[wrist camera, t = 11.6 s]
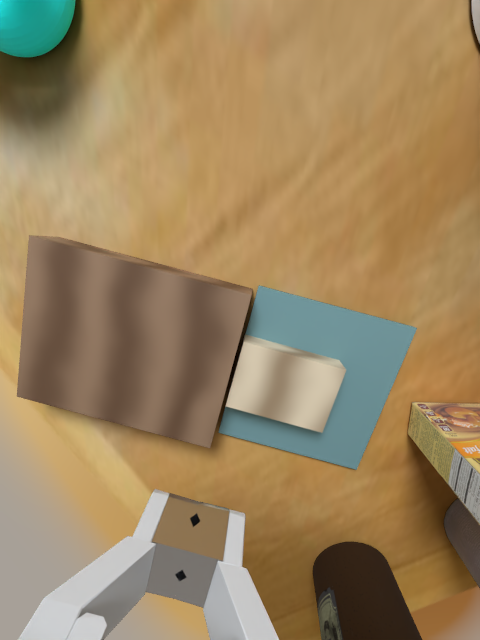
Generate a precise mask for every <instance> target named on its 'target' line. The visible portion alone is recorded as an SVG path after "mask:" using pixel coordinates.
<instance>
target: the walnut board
mask: <svg viewBox="0 0 480 640" xmlns="http://www.w3.org/2000/svg"><path fill="white" fill-rule="evenodd" d="M252 290H253V289H251V288H247V287H244V286H240V285H236V284H232V283H229V282H225V281H221V280H217V279H214V278H210V277H206V276H202V275H199V274H195V273H191V272H188V271H184V270H180V269H176V268H173V267H169V266H165V265H161V264H158V263H154V262H150V261H146V260H143V259H139V258H135V257H132V256H128V255H124V254H120V253H117V252H113V251H109V250H105V249H102V248H98V247H94V246H91V245H87V244H83V243H79V242H76V241H72V240H68V239H64V238H61V237H48V236H30V235H29V244H28V257H27V270H26V283H25V296H24V310H23V323H22V336H21V349H20V362H19V375H18V388H17V397H21V398H24V399H28V400H32V401H36V402H39V403H43V404H47V405H50V406H54V407H58V408H62V409H65V410H69V411H73V412H77V413H80V414H84V415H88V416H91V417H95V418H99V419H103V420H106V421H110V422H114V423H118V424H121V425H125V426H129V427H132V428H136V429H140V430H144V431H147V432H151V433H155V434H158V435H162V436H166V437H170V438H173V439H177V440H181V441H185V442H188V443H192V444H196V445H199V446H203V447H207V448H210V447H211V443H212V439H213V436H214V432H215V428H216V424H217V421H218V417H219V413H220V410H221V406H222V402H223V399H224V395H225V391H226V388H227V384H228V380H229V377H230V373H231V369H232V366H233V362H234V358H235V355H236V351H237V347H238V344H239V340H240V336H241V333H242V329H243V325H244V322H245V318H246V314H247V311H248V307H249V303H250V300H251V296H252Z"/></svg>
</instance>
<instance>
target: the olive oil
mask: <svg viewBox="0 0 480 640" xmlns="http://www.w3.org/2000/svg"><path fill="white" fill-rule="evenodd" d="M313 578H314V586H315V593H316V600H317V608H318V616H319V623H320V631H321V639H322V640H422V638H421V636H420V634H419V632H418V630H417V627H416V625H415V623H414V620H413V618H412V616H411V614H410V612H409V609H408V607H407V605H406V603H405V600H404V598H403V596H402V593H401V591H400V589H399V587H398V584H397V582H396V580H395V578H394V575H393V573H392V571H391V568H390V566H389V564H388V562H387V560H386V559H385V557H384V556H383V555H382V554H381V553H380V552H379V551H378V550H376V549H375V548H373V547H371V546H369V545H366V544H363V543H358V542H344V543H339V544H336V545H333V546H331V547H329V548H327V549H326V550H324V551H323V552H322V553H321V554H320V555H319V556H318V557H317V559H316V561H315V563H314V566H313Z"/></svg>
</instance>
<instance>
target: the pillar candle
mask: <svg viewBox="0 0 480 640" xmlns="http://www.w3.org/2000/svg"><path fill="white" fill-rule="evenodd" d="M444 528H445V531H446V534H447V537H448V539H449V540H450V542H451V544H452V545H453V547H454V548H455V550H456V551H457V553H458V555H459V556H460V558H461V560H462V561H463V563H464V564H465V566H466V567H467V569H468V571H469V572H470V574H471V575H472V577H473V578H474V580H475V581H476V583H477V585H478V586H479V588H480V525H479V524H478V523H477V521H476V520H475V519H474V518H473V516H472V515H471V514H470V512H469V511H468V510H467V509H466V507H465V506H464V505H463V504H462V502H461V501H460V500H459V498H458V499H456V500H455V501H454V502H453V503H452V505H451V506H450V507H449V509H448V510H447V512H446V514H445V518H444Z"/></svg>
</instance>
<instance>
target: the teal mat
mask: <svg viewBox="0 0 480 640" xmlns="http://www.w3.org/2000/svg"><path fill="white" fill-rule="evenodd" d="M416 329H417V328H415V327H412V326H408V325H405V324H401V323H397V322H394V321H390V320H386V319H382V318H379V317H375V316H371V315H367V314H364V313H360V312H356V311H352V310H349V309H345V308H341V307H338V306H334V305H330V304H326V303H323V302H319V301H315V300H311V299H308V298H304V297H300V296H296V295H293V294H289V293H285V292H282V291H278V290H274V289H270V288H267V287H263V286H259V287H258V290H257V294H256V298H255V301H254V305H253V309H252V312H251V316H250V319H249V323H248V327H247V330H246V334H245V335H249V336H253V337H256V338H260V339H264V340H267V341H271V342H275V343H278V344H282V345H286V346H289V347H293V348H297V349H300V350H304V351H307V352H311V353H315V354H318V355H322V356H326V357H329V358H333V359H337V360H340V362H341V363H342V365H343V366H344V367H345V369H346V373H345V375H344V378H343V380H342V383H341V386H340V388H339V391H338V393H337V396H336V398H335V401H334V404H333V406H332V409H331V411H330V414H329V417H328V419H327V422H326V424H325V427H324V430H323V432H322V433H321V432H317V431H314V430H310V429H306V428H303V427H299V426H295V425H292V424H288V423H285V422H281V421H277V420H274V419H270V418H266V417H263V416H259V415H255V414H252V413H248V412H244V411H241V410H237V409H233V408H230V407H226V406H225V410H224V414H223V417H222V421H221V424H220V428H219V432H218V433H222V434H225V435H229V436H233V437H237V438H240V439H244V440H248V441H251V442H255V443H259V444H263V445H266V446H270V447H274V448H278V449H281V450H285V451H289V452H292V453H296V454H300V455H304V456H307V457H311V458H315V459H319V460H322V461H326V462H330V463H333V464H337V465H341V466H345V467H348V468H352V469H356V470H357V467H358V465H359V463H360V460H361V458H362V456H363V453H364V451H365V449H366V446H367V444H368V442H369V439H370V437H371V435H372V432H373V430H374V428H375V425H376V423H377V421H378V418H379V416H380V414H381V411H382V409H383V407H384V404H385V402H386V399H387V397H388V395H389V392H390V390H391V388H392V385H393V383H394V381H395V378H396V376H397V374H398V371H399V369H400V367H401V364H402V362H403V360H404V357H405V355H406V353H407V350H408V348H409V346H410V343H411V341H412V339H413V336H414V334H415V332H416Z"/></svg>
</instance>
